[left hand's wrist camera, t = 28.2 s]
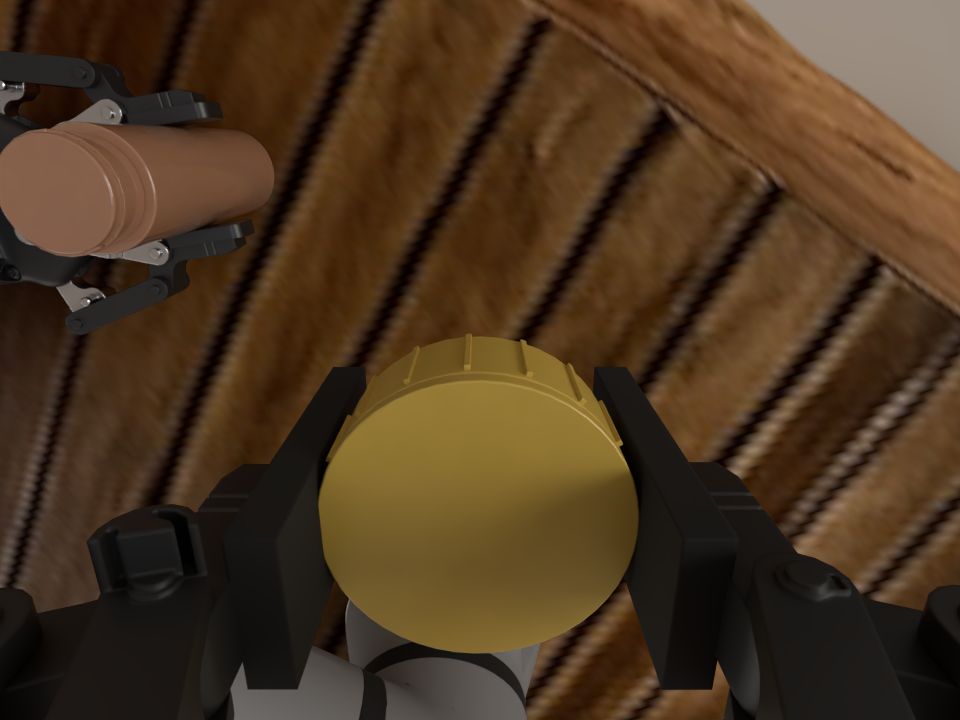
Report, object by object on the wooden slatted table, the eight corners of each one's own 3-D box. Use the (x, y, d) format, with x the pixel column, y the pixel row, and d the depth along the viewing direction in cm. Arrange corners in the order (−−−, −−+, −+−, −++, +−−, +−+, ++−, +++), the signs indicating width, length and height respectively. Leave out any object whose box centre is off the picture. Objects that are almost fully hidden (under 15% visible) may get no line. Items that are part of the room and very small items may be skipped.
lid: (348, 569, 13) (321, 653, 11) (333, 327, 11) (298, 371, 9) (599, 575, 13) (623, 660, 11) (628, 335, 11) (663, 381, 9)
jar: (176, 148, 35) (-50, 154, 20) (248, 114, 34) (69, 95, 20) (220, 226, 37) (39, 285, 22) (289, 195, 36) (152, 234, 21)
